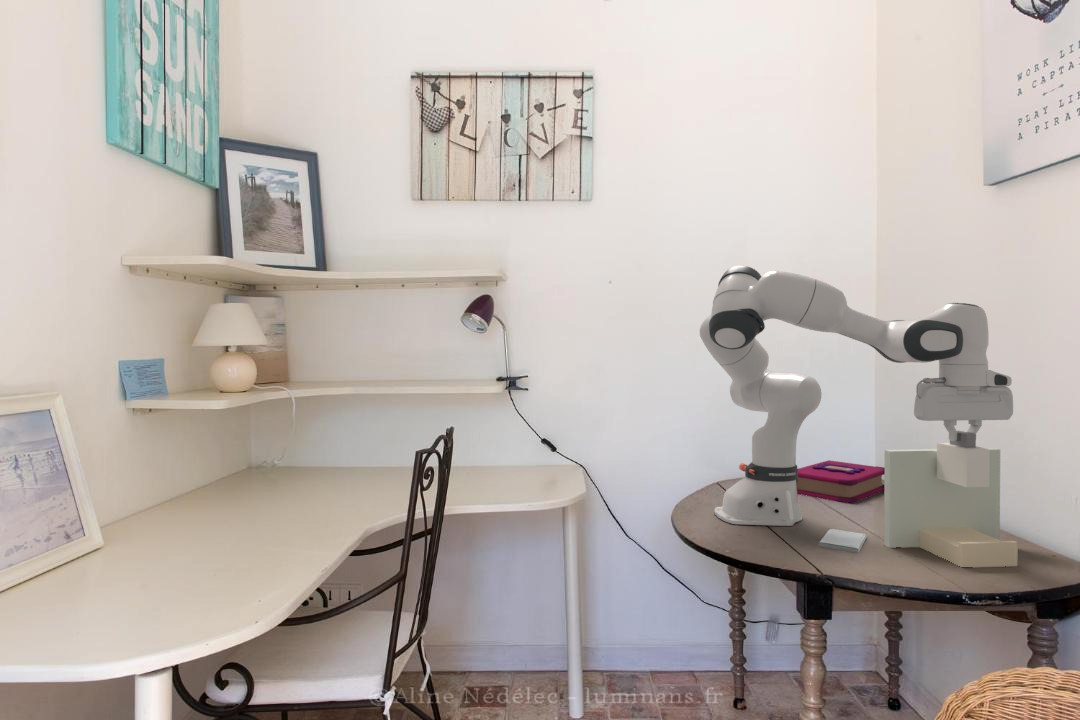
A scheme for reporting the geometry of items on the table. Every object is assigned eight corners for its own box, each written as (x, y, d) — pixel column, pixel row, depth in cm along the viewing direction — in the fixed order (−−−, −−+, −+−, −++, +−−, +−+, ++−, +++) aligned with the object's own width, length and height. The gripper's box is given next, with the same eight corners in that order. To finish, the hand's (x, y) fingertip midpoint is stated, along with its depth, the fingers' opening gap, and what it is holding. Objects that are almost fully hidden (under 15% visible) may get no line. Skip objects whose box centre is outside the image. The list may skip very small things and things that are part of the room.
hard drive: (858, 548, 136) (866, 533, 146) (818, 541, 140) (828, 527, 151) (858, 555, 136) (866, 540, 146) (818, 548, 140) (828, 534, 151)
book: (782, 492, 193) (782, 468, 193) (824, 479, 211) (824, 457, 211) (851, 505, 177) (851, 479, 177) (890, 490, 195) (890, 466, 194)
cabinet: (966, 487, 129) (967, 435, 129) (936, 478, 138) (937, 429, 138) (989, 486, 129) (989, 435, 129) (958, 477, 138) (958, 429, 138)
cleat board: (928, 568, 126) (929, 462, 125) (884, 545, 141) (884, 449, 140) (1049, 565, 127) (1050, 460, 127) (992, 542, 142) (993, 447, 141)
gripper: (927, 378, 130) (926, 443, 130) (1019, 377, 131) (1018, 442, 131) (907, 377, 136) (907, 439, 136) (995, 376, 137) (995, 437, 137)
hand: (962, 440), depth 134 cm, fingers closed on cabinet
